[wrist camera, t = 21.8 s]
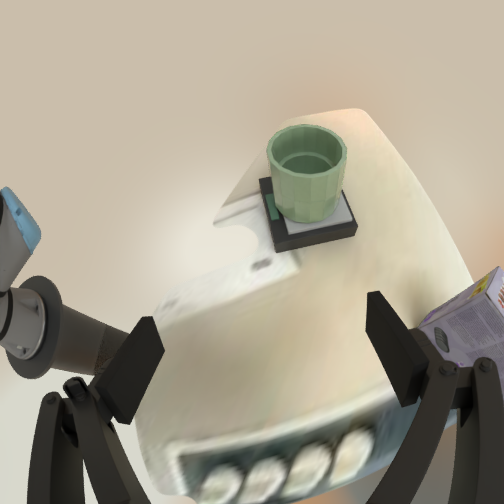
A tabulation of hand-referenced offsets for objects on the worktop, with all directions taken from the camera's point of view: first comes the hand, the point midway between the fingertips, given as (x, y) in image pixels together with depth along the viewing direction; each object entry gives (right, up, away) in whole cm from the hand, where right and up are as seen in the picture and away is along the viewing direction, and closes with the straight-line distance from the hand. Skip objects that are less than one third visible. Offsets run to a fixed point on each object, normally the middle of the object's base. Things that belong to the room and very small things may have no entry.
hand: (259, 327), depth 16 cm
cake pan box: (+31, -12, +15) cm, 36 cm away
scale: (+9, +11, +30) cm, 33 cm away
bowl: (+8, +13, +26) cm, 31 cm away
